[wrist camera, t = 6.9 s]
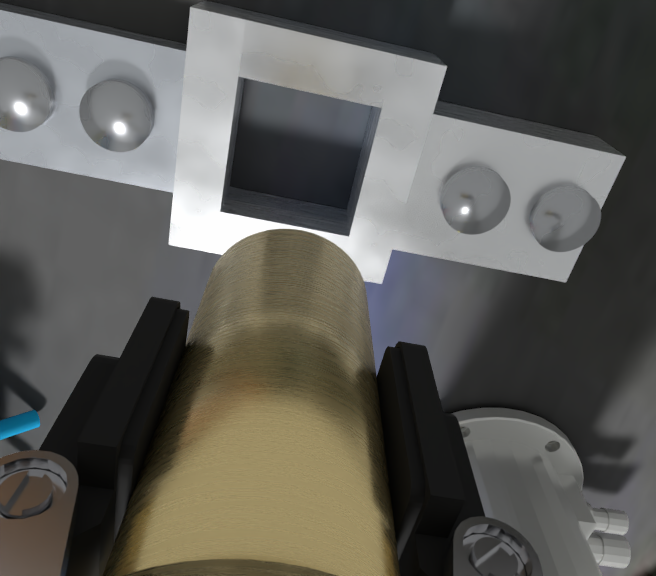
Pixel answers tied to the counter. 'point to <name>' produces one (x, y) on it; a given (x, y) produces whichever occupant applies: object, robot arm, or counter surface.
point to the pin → (268, 428)
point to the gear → (19, 424)
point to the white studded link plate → (316, 77)
